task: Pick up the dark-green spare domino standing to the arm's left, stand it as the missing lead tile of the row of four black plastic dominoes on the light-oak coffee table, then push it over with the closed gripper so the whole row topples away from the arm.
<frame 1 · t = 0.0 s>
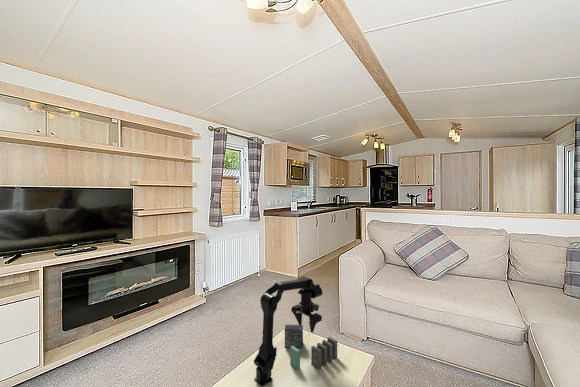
hand: (306, 328, 142), 15 cm above the table, fingers open, 9 cm apart
tile 5: (332, 356, 142), on the table
small box: (293, 345, 152), on the table
tile 4: (327, 359, 139), on the table
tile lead: (295, 366, 133), on the table
tile 2: (316, 365, 133), on the table
tile 3: (321, 362, 136), on the table
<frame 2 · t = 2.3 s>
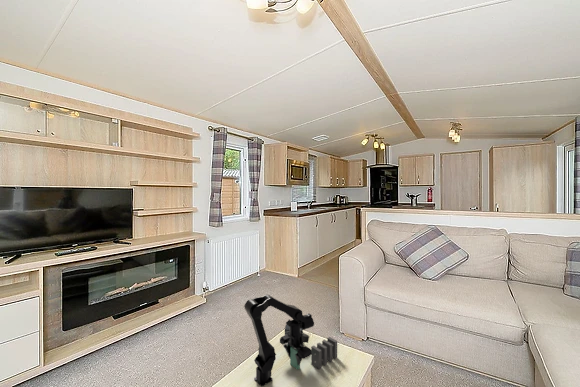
hand: (295, 362, 133), 2 cm above the table, fingers closed on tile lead, 5 cm apart
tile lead: (295, 366, 133), on the table, touching gripper
everything else where it was.
when the fingers open (3 cm above the table, at t = 5.9 s): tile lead stays where it is, on the table.
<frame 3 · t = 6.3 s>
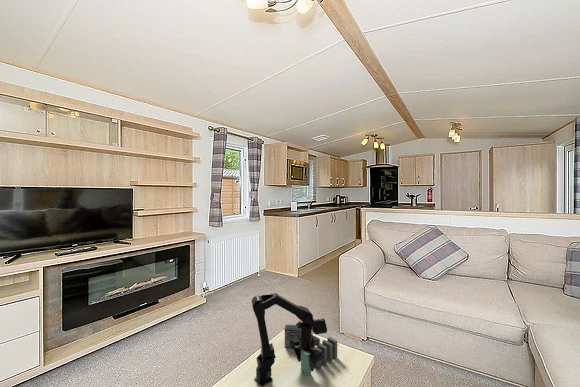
hand: (305, 366, 129), 3 cm above the table, fingers open, 9 cm apart
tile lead: (306, 372, 129), on the table
everything else where it was.
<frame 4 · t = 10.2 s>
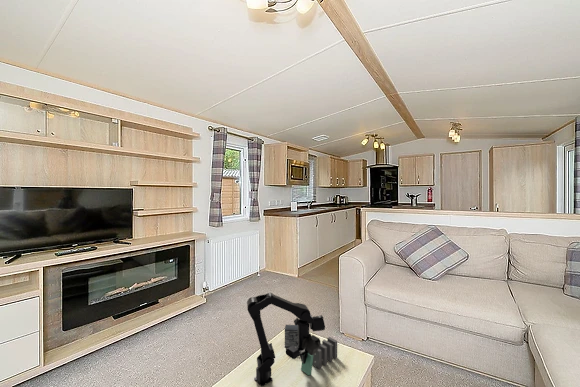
hand: (303, 363, 127), 5 cm above the table, fingers closed
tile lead: (306, 372, 129), on the table, tilted 10°
everything else where it was.
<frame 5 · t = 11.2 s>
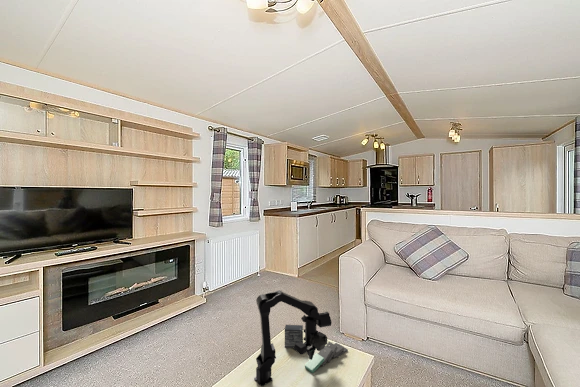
hand: (310, 359, 131), 5 cm above the table, fingers closed
tile 5: (333, 355, 142), on the table, tilted 90°, touching tile 4
tile 4: (329, 354, 140), point 2 cm above the table, tilted 84°, touching tile 5
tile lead: (308, 369, 130), point 1 cm above the table, tilted 73°, touching tile 2
tile 2: (318, 362, 135), point 1 cm above the table, tilted 62°, touching tile 3, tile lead
tile 3: (324, 359, 138), point 1 cm above the table, tilted 58°, touching tile 2
everything else where it was.
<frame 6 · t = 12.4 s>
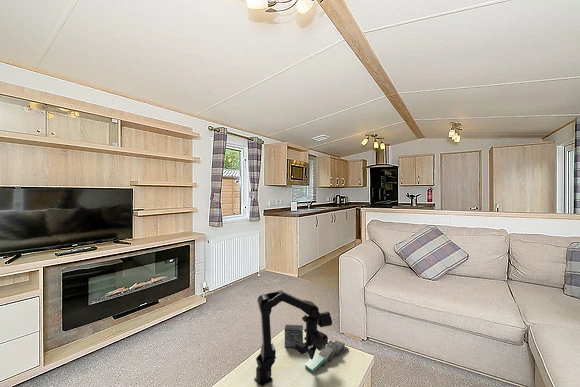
hand: (311, 359, 131), 5 cm above the table, fingers closed
tile 5: (334, 353, 143), on the table, tilted 90°
tile 4: (332, 351, 142), point 2 cm above the table, tilted 88°, touching tile 3
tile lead: (308, 368, 130), point 1 cm above the table, tilted 76°
tile 2: (319, 362, 135), point 1 cm above the table, tilted 64°, touching tile 3
tile 3: (326, 357, 139), point 1 cm above the table, tilted 57°, touching tile 2, tile 4
everything else where it was.
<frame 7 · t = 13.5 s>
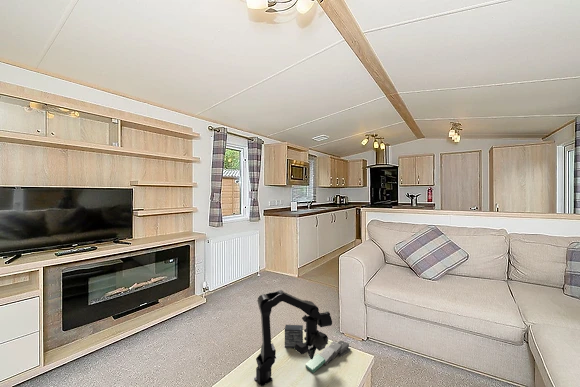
hand: (311, 359, 131), 5 cm above the table, fingers closed
tile 5: (336, 354, 143), on the table, tilted 90°, touching tile 4
tile 4: (336, 350, 143), point 2 cm above the table, tilted 90°, touching tile 3, tile 5
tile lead: (309, 368, 130), point 1 cm above the table, tilted 77°, touching tile 2
tile 2: (321, 361, 135), point 1 cm above the table, tilted 68°, touching tile 3, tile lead
tile 3: (327, 356, 139), point 1 cm above the table, tilted 64°, touching tile 2, tile 4
everything else where it was.
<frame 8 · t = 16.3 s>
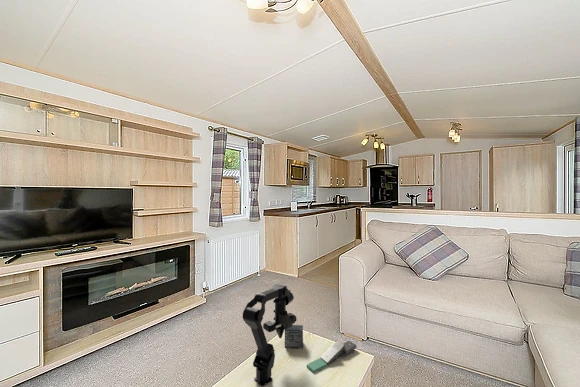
hand: (280, 338, 138), 12 cm above the table, fingers closed
tile 5: (338, 355, 142), on the table, tilted 90°, touching tile 4
tile 4: (342, 350, 143), point 2 cm above the table, tilted 89°, touching tile 3, tile 5
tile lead: (310, 369, 130), on the table, tilted 90°
tile 2: (324, 361, 136), point 1 cm above the table, tilted 70°
tile 3: (330, 356, 140), point 1 cm above the table, tilted 67°, touching tile 4
everything else where it was.
at the end: tile 5 tilted 90°; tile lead tilted 90° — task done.
